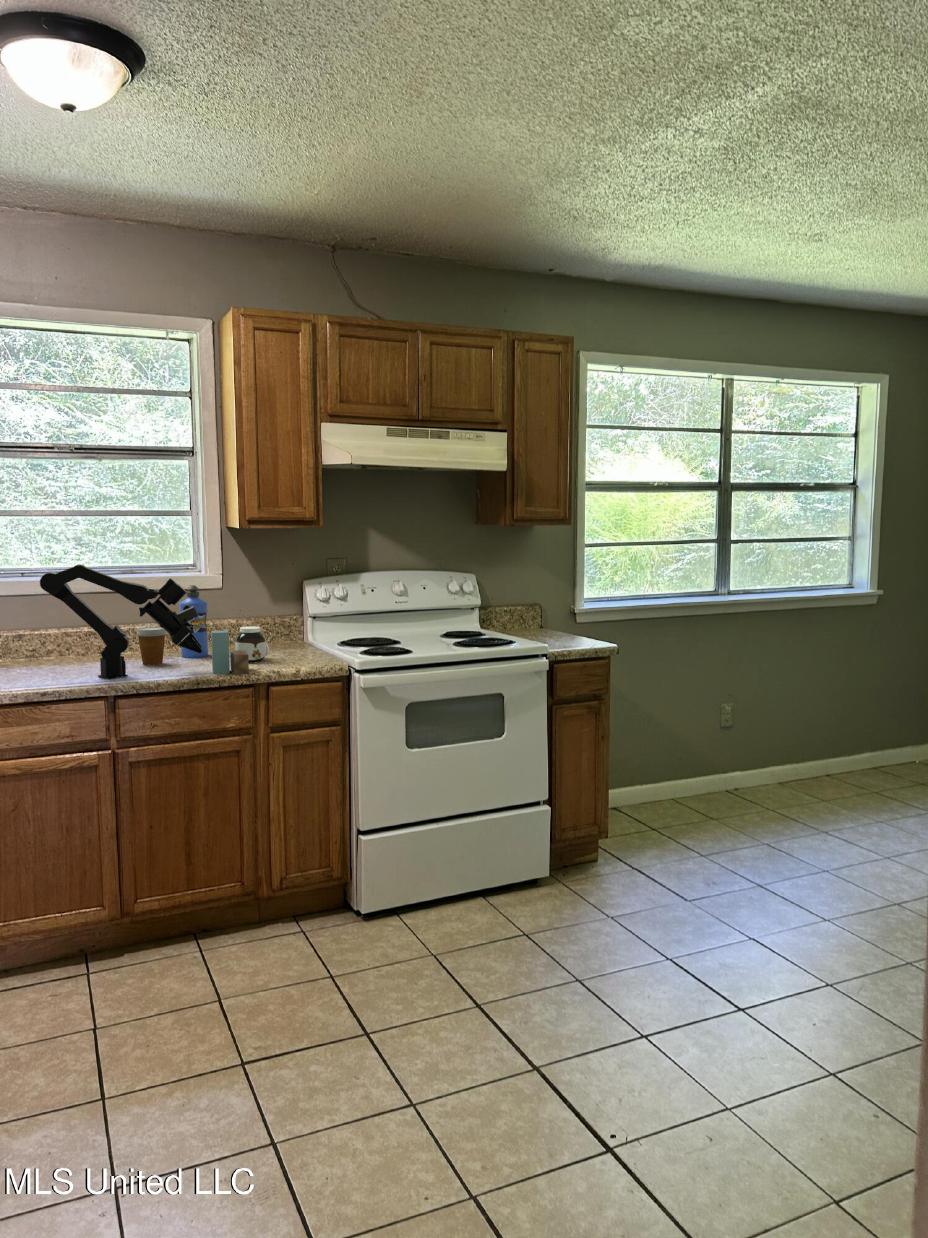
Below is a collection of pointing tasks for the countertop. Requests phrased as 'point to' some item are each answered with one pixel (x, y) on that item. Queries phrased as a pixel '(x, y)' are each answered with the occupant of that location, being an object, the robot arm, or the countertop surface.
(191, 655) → the water bottle
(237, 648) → the spread jar
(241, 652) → the block
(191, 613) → the robot arm
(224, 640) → the teal block
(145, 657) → the disposable coffee cup
